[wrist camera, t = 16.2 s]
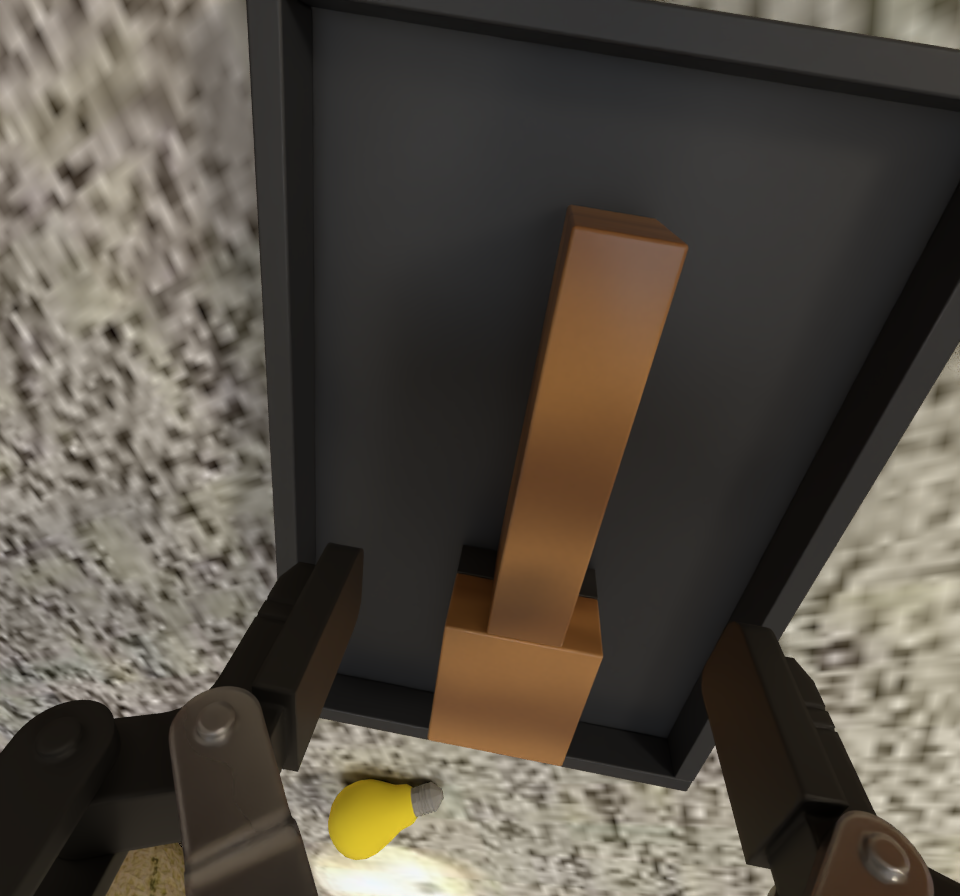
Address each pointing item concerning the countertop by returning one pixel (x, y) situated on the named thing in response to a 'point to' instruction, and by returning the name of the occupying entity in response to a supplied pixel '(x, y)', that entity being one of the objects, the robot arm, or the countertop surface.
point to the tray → (524, 298)
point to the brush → (557, 498)
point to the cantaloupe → (151, 872)
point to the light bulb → (377, 814)
